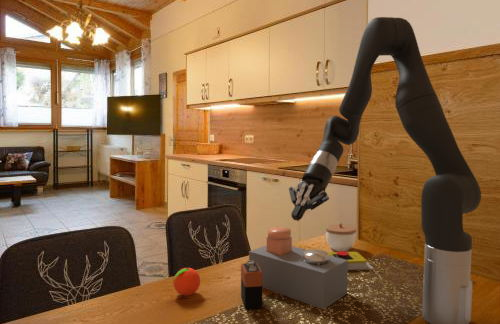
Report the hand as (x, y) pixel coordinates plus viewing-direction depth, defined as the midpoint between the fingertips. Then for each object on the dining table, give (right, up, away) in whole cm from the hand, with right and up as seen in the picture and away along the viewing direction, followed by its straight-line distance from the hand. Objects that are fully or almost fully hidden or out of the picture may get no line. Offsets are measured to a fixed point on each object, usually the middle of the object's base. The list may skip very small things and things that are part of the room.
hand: (295, 218), depth 102 cm
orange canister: (-4, -13, +4) cm, 14 cm away
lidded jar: (+21, -16, +35) cm, 44 cm away
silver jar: (+5, -17, -4) cm, 18 cm away
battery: (-12, -20, -8) cm, 25 cm away
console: (0, -19, +1) cm, 19 cm away
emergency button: (+18, -18, +19) cm, 32 cm away
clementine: (-29, -20, -4) cm, 35 cm away
